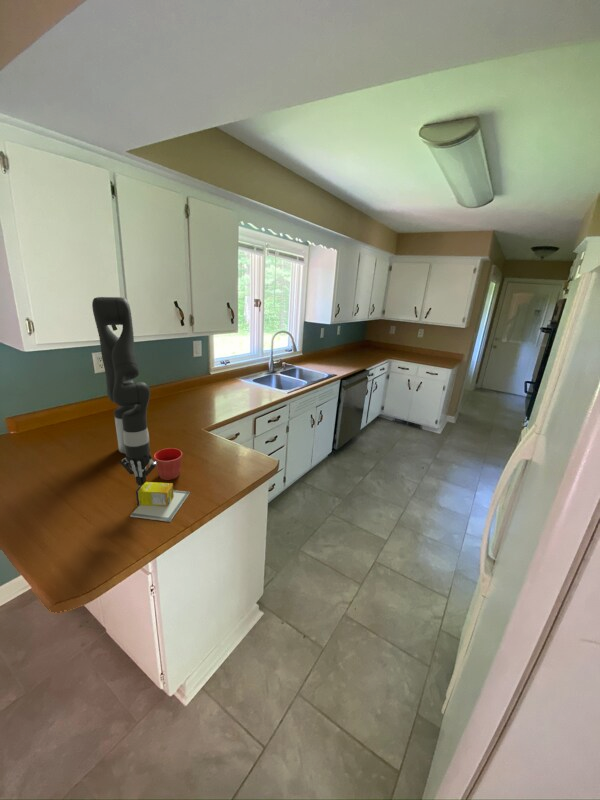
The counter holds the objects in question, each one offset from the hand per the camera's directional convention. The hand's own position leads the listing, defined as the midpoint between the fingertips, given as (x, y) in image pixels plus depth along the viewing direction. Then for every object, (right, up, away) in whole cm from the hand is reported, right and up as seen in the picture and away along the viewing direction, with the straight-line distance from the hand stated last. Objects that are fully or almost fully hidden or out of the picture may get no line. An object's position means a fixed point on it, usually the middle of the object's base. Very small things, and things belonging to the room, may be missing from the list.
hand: (141, 484), depth 112 cm
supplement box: (-2, -4, +2) cm, 4 cm away
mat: (+6, -8, +2) cm, 10 cm away
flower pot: (+2, -1, +19) cm, 20 cm away
